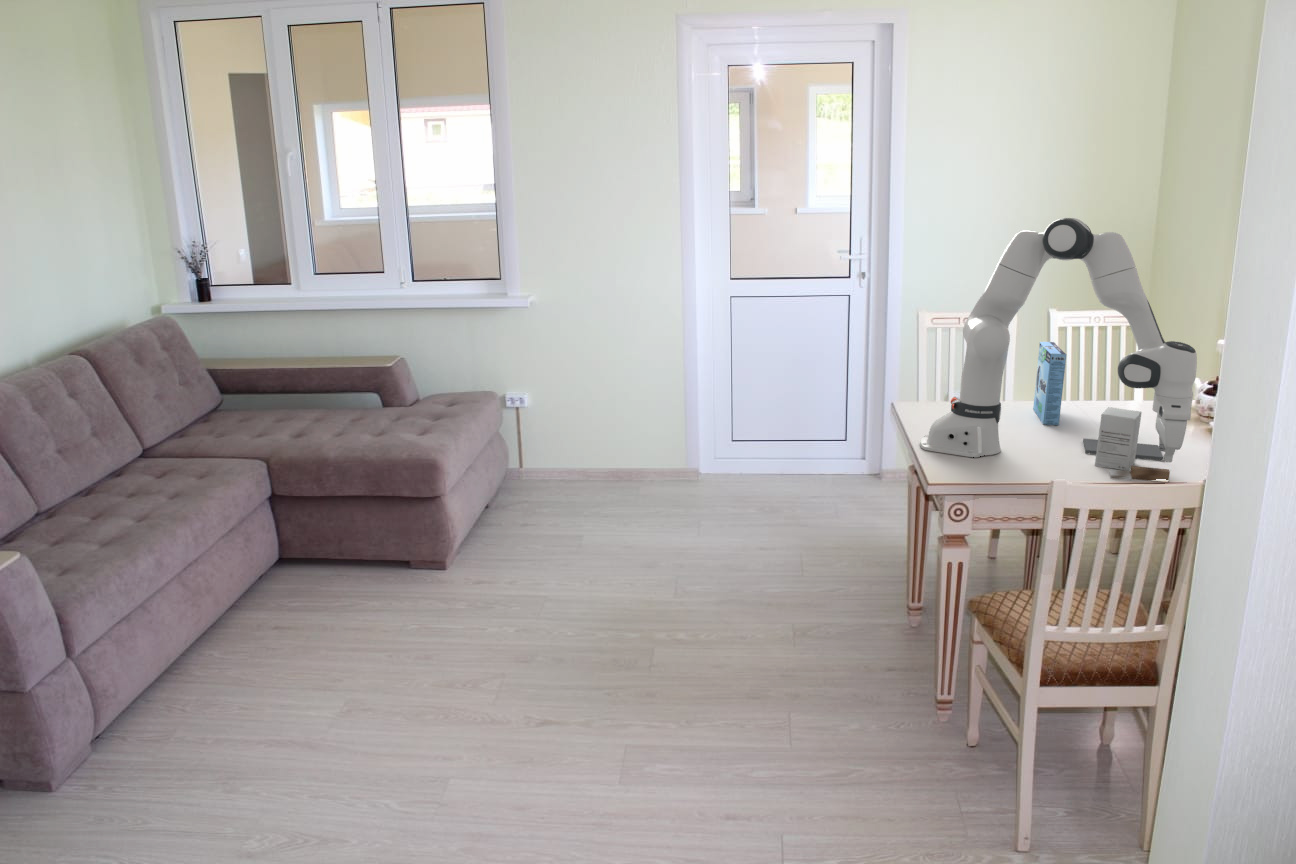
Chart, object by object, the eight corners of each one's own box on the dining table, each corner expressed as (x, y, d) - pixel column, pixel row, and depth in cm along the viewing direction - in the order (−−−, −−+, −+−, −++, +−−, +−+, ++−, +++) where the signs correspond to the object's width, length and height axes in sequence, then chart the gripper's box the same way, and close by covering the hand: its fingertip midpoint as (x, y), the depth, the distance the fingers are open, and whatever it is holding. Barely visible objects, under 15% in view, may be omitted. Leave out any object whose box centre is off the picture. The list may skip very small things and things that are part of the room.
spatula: (1110, 478, 263) (1111, 467, 262) (1108, 472, 268) (1110, 462, 267) (1168, 484, 259) (1170, 473, 258) (1166, 478, 263) (1168, 467, 262)
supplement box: (1100, 457, 280) (1107, 406, 276) (1135, 463, 275) (1142, 411, 271) (1093, 465, 273) (1100, 413, 269) (1128, 471, 268) (1136, 418, 264)
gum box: (1058, 425, 311) (1067, 354, 304) (1041, 424, 312) (1050, 353, 305) (1047, 409, 329) (1055, 341, 322) (1031, 408, 330) (1039, 341, 323)
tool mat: (1085, 453, 284) (1085, 449, 283) (1082, 441, 294) (1083, 438, 294) (1162, 460, 277) (1163, 457, 277) (1157, 448, 288) (1158, 445, 288)
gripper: (1153, 394, 266) (1146, 443, 270) (1164, 414, 248) (1156, 466, 252) (1179, 396, 264) (1172, 445, 268) (1192, 416, 246) (1184, 468, 250)
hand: (1165, 456), depth 260 cm, fingers open, 8 cm apart
